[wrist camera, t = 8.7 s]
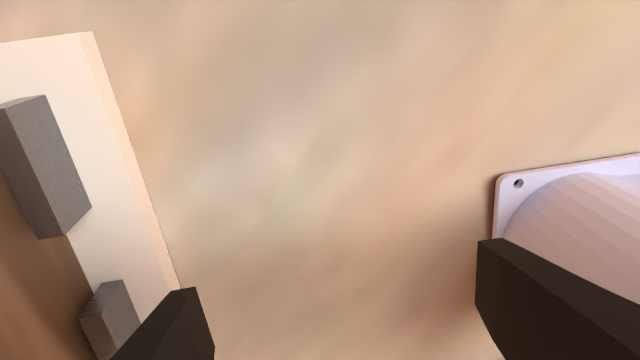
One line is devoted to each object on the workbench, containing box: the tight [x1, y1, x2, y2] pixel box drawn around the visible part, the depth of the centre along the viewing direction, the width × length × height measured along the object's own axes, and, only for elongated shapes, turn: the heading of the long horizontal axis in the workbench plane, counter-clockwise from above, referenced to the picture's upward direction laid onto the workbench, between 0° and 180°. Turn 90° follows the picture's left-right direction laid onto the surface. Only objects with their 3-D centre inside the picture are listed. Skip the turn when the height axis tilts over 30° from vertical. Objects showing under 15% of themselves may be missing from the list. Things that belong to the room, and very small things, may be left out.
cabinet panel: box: [0, 31, 181, 324], centre depth 18 cm, size 10×18×1 cm, turn 7°
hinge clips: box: [0, 94, 141, 360], centre depth 17 cm, size 6×14×2 cm, turn 7°
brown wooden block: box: [0, 166, 98, 360], centre depth 14 cm, size 4×12×7 cm, turn 7°
